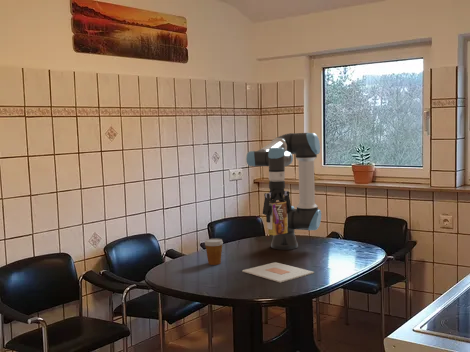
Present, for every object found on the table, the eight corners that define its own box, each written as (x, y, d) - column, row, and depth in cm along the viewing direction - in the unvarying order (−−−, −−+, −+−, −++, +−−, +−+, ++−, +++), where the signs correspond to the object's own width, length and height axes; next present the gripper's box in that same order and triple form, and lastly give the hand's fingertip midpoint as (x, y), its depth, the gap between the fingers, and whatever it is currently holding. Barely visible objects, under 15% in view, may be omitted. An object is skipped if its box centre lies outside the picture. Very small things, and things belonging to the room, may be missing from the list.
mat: (242, 271, 264) (242, 270, 264) (275, 263, 278) (275, 261, 278) (280, 282, 244) (280, 280, 244) (313, 273, 258) (313, 271, 258)
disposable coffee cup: (209, 260, 287) (208, 238, 286) (226, 261, 284) (225, 238, 282) (202, 265, 278) (201, 241, 277) (219, 266, 275) (219, 242, 274)
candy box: (281, 232, 265) (281, 200, 264) (287, 233, 262) (287, 201, 260) (267, 234, 260) (267, 202, 259) (273, 235, 256) (272, 203, 255)
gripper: (264, 182, 249) (265, 231, 251) (299, 179, 262) (299, 226, 264) (253, 181, 255) (254, 229, 257) (288, 178, 268) (289, 224, 270)
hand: (277, 227), depth 260 cm, fingers closed on candy box, 9 cm apart
